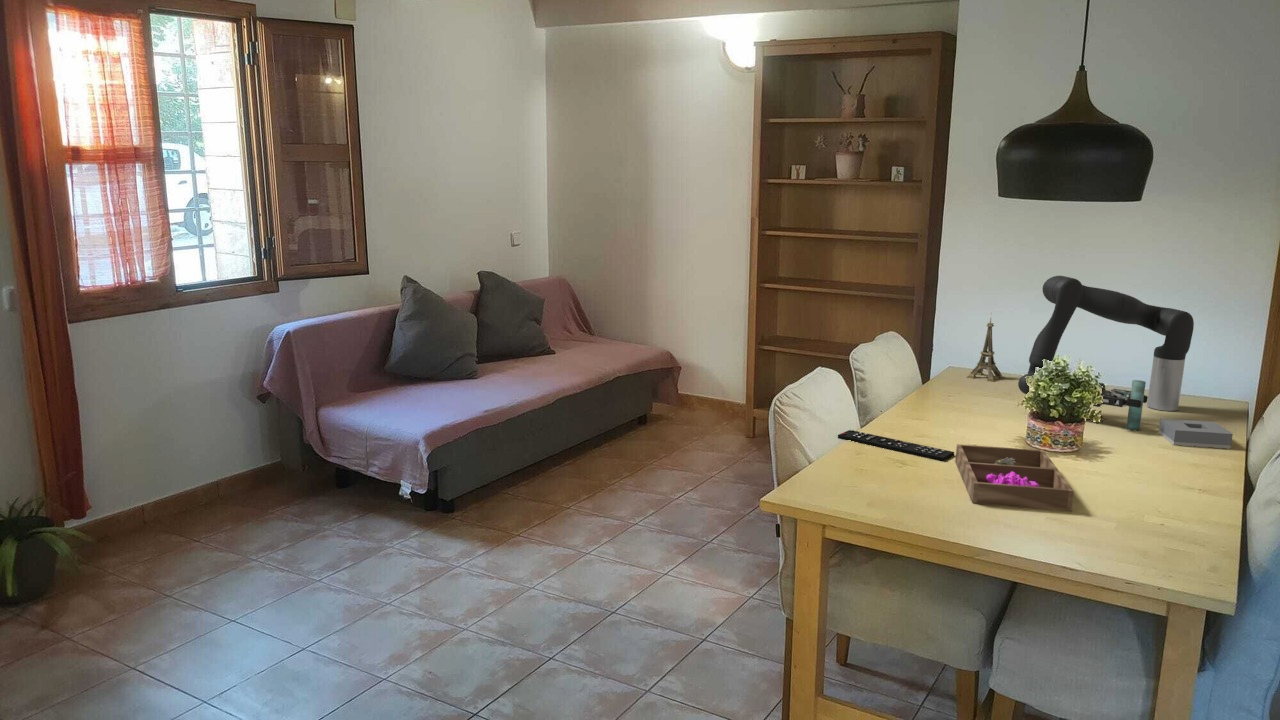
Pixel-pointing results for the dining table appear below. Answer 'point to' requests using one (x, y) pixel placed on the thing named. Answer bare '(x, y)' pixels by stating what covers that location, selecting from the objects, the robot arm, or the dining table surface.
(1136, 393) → the teal pin
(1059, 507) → the walnut display tray
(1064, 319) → the robot arm
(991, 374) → the eiffel tower
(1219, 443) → the socket block
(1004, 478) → the magenta lumpy cluster
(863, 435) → the remote control
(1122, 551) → the dining table surface
